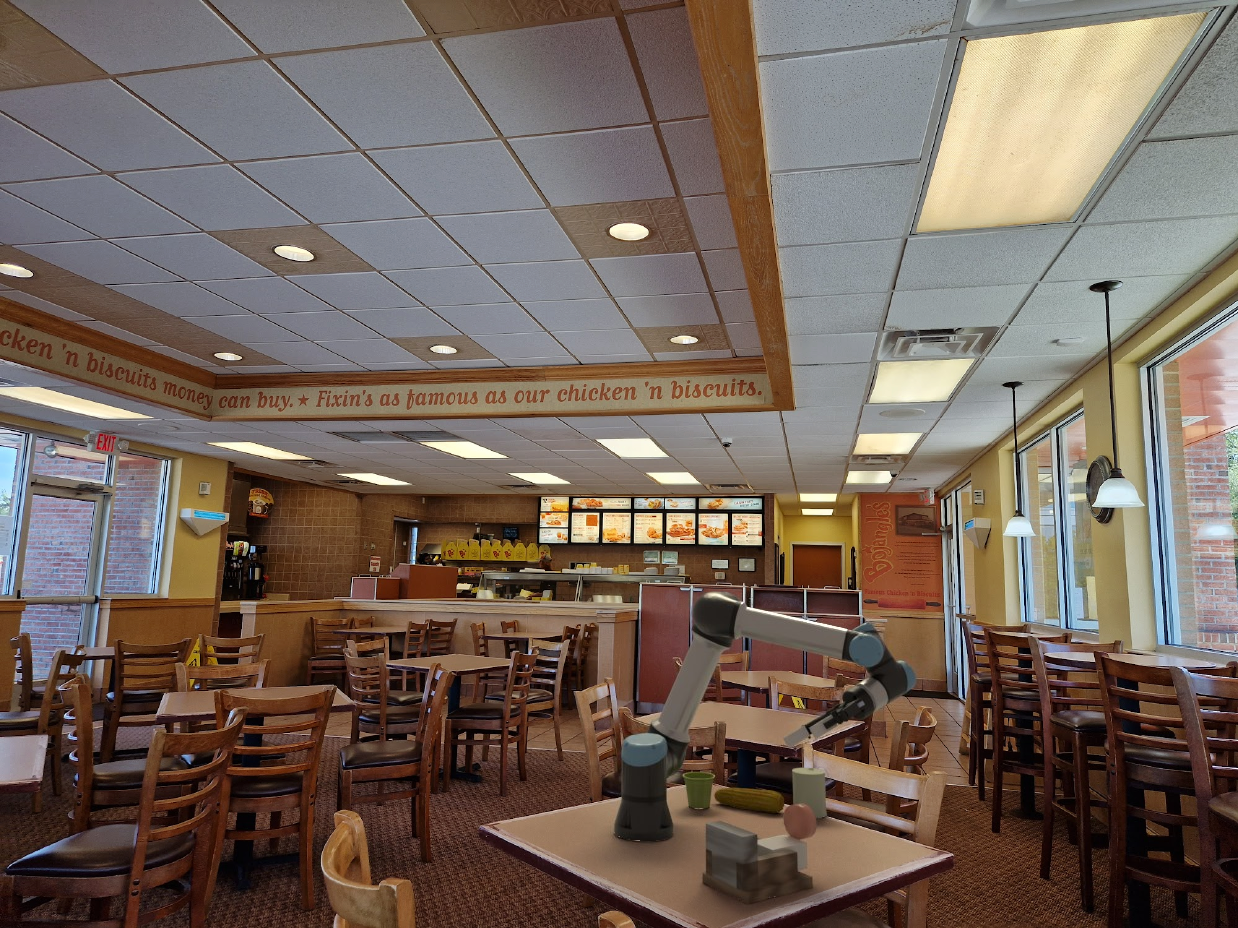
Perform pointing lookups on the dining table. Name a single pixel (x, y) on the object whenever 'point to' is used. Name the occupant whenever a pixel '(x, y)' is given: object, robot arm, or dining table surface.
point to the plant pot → (699, 788)
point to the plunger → (792, 834)
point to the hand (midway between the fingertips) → (799, 738)
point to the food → (751, 799)
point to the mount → (749, 866)
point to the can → (810, 789)
